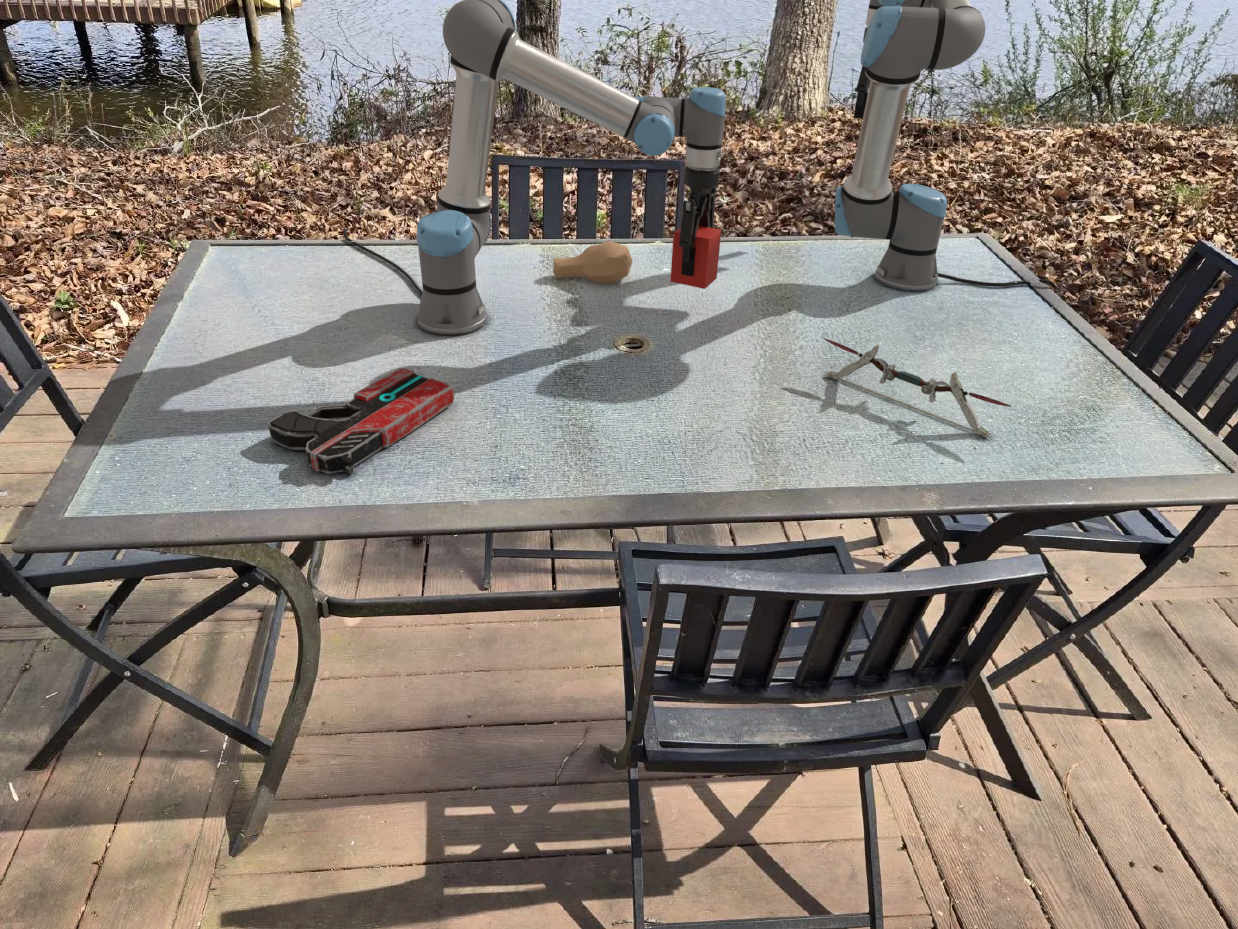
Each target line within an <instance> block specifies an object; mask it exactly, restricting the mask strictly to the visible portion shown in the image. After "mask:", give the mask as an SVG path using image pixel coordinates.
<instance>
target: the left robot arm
mask: <svg viewBox="0 0 1238 929" xmlns="http://www.w3.org/2000/svg"><path fill="white" fill-rule="evenodd" d="M516 26H517V25H516V19H515V16H514V14H513V12H512V10H511V8H510V6H508V4H507V3H506V2H505V1H504V0H461V1H458V2H457V3H456V4H454V5H453V6H452V7H451V8H450V9H449V10H448V11H447V13H446V15H445V17H444V19H443V24H442V37H443V42H444V45H445V47H446V49H447V51H448V52H449V54H450V56H449V58H450V59H449V65H450V66H451V67H452V69H453V70H454V71H455V74H456V76H455V86H454V98H453V108H452V117H451V118H452V120H451V127H450V128H451V130H450V141H449V150H448V151H449V152H448V160H447V161H448V162H447V171H446V172H447V173H446V183H445V186H444V187H443V188H441V189H440V190H438V194H437V205H436V211H432V213H427V214H425V215H424V216H422V217H421V218H420V219H419V221H418V223H417V225H416V244H417V247H418V258H419V267H420V275H421V276H420V277H421V284H422V289H421V287H419V285H417V283H416V281H415V280H414V279H413V278H412V277H411V275H409V274H408V272H406V271H405V270H404V269H403V268H402V267H400V266H399V265H398V264H396V263H395V262H394V261H392V260H389V259H388V258H386V257H385V256H383V255H382V254H379V253H377V252H375V251H373V250H371V249H370V248H367V247H365V246H363V245H361V244H360V243H358V242H356V241H354V240H353V239H351V238H350V237H348V235H347V229H346V228H343V231H342V232H343V233H342V234H343V238H344V239H345V240H346V241H347V242H349V241H354V242H349V243H350V244H352V245H353V246H356V247H358V248H359V249H361V250H363V251H365V252H367V253H368V254H370V255H372V256H375V257H376V258H378V259H380V260H382V261H383V262H385V263H387V264H389V265H391V266H392V267H393V268H395V269H396V270H398V271H399V272H400V273H402V274H403V276H404V277H406V278H407V279H408V281H409V282H410V283H411V284H412V286H413V287H414V288H415V290H416V291H417V293H418V294H420V295H421V297H420V302H419V305H418V310H417V316H416V318H417V325H418V326H419V328H420V329H421V330H423V331H424V332H427V333H430V334H433V335H440V336H459V335H465V334H469V333H473V332H476V331H477V330H480V329H481V328H483V327H484V326H485V325H486V323H487V320H488V316H487V310H486V304H485V303H484V302H483V299H482V298H481V295H480V293H479V291H478V288H477V278H476V277H477V276H476V257H477V256H478V254H479V253H480V251H481V249H482V247H483V246H484V245H485V244H486V242H487V241H488V239H489V237H490V234H491V231H492V230H491V229H492V218H491V214H490V210H491V205H492V204H491V203H492V200H491V198H490V197H489V196H488V194H487V193H486V186H487V178H488V171H489V162H490V155H491V154H490V153H491V146H492V136H493V128H494V120H495V112H496V103H497V94H498V85H499V82H501V81H504V80H506V81H508V82H510V83H512V84H514V85H516V86H519V87H520V88H522V89H524V90H527V91H529V92H531V93H532V94H535V95H537V96H538V97H541V98H543V99H545V100H547V101H549V102H550V103H553V104H555V105H556V106H559V107H561V108H562V109H565V110H567V111H569V112H571V113H574V114H575V115H577V116H579V117H581V118H583V119H585V120H587V121H589V122H592V123H593V124H596V125H598V126H599V127H602V128H604V129H606V130H608V131H610V132H611V133H614V134H616V135H617V136H619V137H621V138H623V139H626V140H627V141H629V142H630V143H631V142H632V143H633V144H635V145H636V147H637V149H639V151H640V152H641V153H643V154H645V155H647V156H649V157H657V156H661V155H663V154H665V153H666V152H667V151H668V150H669V149H670V147H671V146H672V145H673V142H674V140H675V138H676V137H677V138H686V145H685V156H684V164H685V165H686V166H685V167H684V171H683V172H684V173H683V184H684V186H686V187H688V188H689V190H690V191H689V194H688V196H687V197H688V198H687V200H683V201H682V217H681V225H680V227H681V233H680V241H679V246H681V247H683V256H682V270H681V274H683V275H688V276H693V275H694V264H695V252H696V247H694V244H695V240H696V235H697V230H698V225H699V226H705V227H710V228H715V211H716V210H715V207H716V195H717V188H718V186H719V184H720V172H721V170H720V168H719V167H720V165H721V159H722V158H723V157H724V153H722V150H723V148H722V147H723V138H724V130H725V120H726V103H727V101H726V100H727V96H726V93H725V91H723V90H722V89H720V88H717V87H711V86H702V87H700V86H699V87H694V88H692V89H691V90H690V92H689V95H688V97H685V98H684V97H683V98H681V97H679V98H678V97H662V96H651V95H645V96H633V95H631V94H629V93H628V92H625V91H623V90H622V89H619V88H617V87H615V86H613V85H612V84H609V83H607V82H605V81H603V80H601V79H599V78H597V77H595V76H594V75H591V74H590V73H588V72H585V71H583V70H582V69H579V68H577V67H575V66H574V65H572V64H569V63H568V62H565V61H564V60H562V59H559V58H558V57H556V56H553V55H552V54H550V53H548V52H546V51H544V50H542V49H541V48H538V47H536V46H535V45H532V44H529V42H526V41H524V40H523V39H521V37H520V35H519V33H518V31H517V30H516V28H517V27H516Z"/></svg>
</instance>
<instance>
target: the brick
mask: <svg viewBox="0 0 1238 929" xmlns="http://www.w3.org/2000/svg"><path fill="white" fill-rule="evenodd" d="M680 233H681V226H680V227H679V228H677V229H676V230H674V231H673V236H672V250H671V252H672V253H671V264H670V265H671V267H670V281H669V282H671V283H676V284H680V285H684V286H689V287H694V288H698V289H703V290H706V289H707V288H708V287H709V286H710V285H711V284H712V283H714V281H716V280H717V277H718V269H719V259H720V258H719V257H720V247H721V238H722V229H721V228H715V227H714V228H710V227H705V226H699V225H698V230H697V235H696V240H695V244H694V247H696V252H695V264H694V275H693V276H688V275H683V274H681V270H682V256H683V247H681V246H679V241H680Z"/></svg>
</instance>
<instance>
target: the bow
mask: <svg viewBox="0 0 1238 929" xmlns="http://www.w3.org/2000/svg"><path fill="white" fill-rule="evenodd" d="M822 339H823V340H824V341H826V342H828V343H829V344H831V345H833V346H835V347H837V348H839V349H841V350H842V351H843V350H844V351H845V352H848V353H851V354H853V355H857V357H858V358H859V359H858V360H854V361H853V362H851V363H849V364H847V365H845V366H844V367H842V368H841V369H840V370H839V371H832V370H831V371H828V372H826V375H827V377H829V378H831V379H832V380H839V381H842V382H845V383H847V384H849V385H852V386H855V387H857V388H860V389H862V390H865V391H868V392H871V393H873V394H876V395H878V396H881V397H883V398H886V399H888V400H891V401H894V402H896V403H899V404H902V405H904V406H907V407H909V408H912V409H914V410H917V411H920V412H922V413H924V414H927V415H929V416H931V417H935V418H938V419H941V420H943V421H944V422H945V421H946V422H948V423H951V424H953V425H956V426H958V427H961V428H963V429H966V430H968V431H971V432H973V433H974V434H977V435H978V436H979V437H983V438H989V437H990V436H992V433H991V432H989V430H987V429H985V428H984V427H983V426H982V425H980V421H979V419H978V418H979V417H978V416H977V414H976V412H975V410H974V408H973V407H972V405H971V404H970V403H969V401H968V400H967V397H966V396H968V395H969V397H972V398H975V399H977V400H980V401H983V402H986V403H990V404H994V405H997V406H1003V407H1009V408H1011V407H1012V405H1011V404H1007V403H1005V402H1003V401H1000V400H998V399H995V398H991V397H988V396H985V395H981V394H979V393H975V392H968V391H966V390H964V388H963V384H962V383H961V381H960V380H959V378H958V374H957V371H953V372H952V373H951V376H950V380H949V383H948V382H946V381H944V380H940V381H939V380H938V381H937V380H936V379H934V378H933V377H932V378H930V379H929V380H928V381H926V380H924V379H923V378H922V377H921V376H918V375H916V374H913V373H910V372H907V371H904V370H896V368H897V367H896V366H897V365H896V364H895V363H893V364H888V362H887V361H886V360H884V359H883V358H879V357H876V356H877V355H878V352H879V349H880V344H876V345H874V347H872V348H871V350H868V351H866V352H865V353H864V354H863V353H861V352H858V351H857V350H855V349H853V348H850V347H848V346H846V345H843V344H842V343H839V342H837V341H833V340H831V339H828V338H826V337H825V338H824V337H823V338H822ZM875 357H876V358H875ZM870 364H872V365H873V366H875V368H877V370H879V371H880V372H882V375H881V377H880V380H879V382H878V383H879V384H881V385H884V384H885V383H887V381H889V382H893V381H894V380H895V379H898V380H900V381H902V382H906V383H908V384H910V385H914V386H916V387H921V389H920V391H921V393H922V394H924V395H928V403H932V404H934V402H936V397H937V394H936V393H937V392H938V393H945V392H949V393H951V395H952V396H953V397H954V399H955V401H956V402H957V404H958V405H959V408H960V410H961V413H962V414H963V416H964V417H965V419H966V422H967V424H968V425H969V427H970V428H969V427H966V426H963V425H961V424H958V423H957V422H956V423H955V422H953V421H952V420H951V421H950V420H948V419H946V418H943V417H940V416H937V415H935V414H933V413H929V412H928V411H925V410H922V409H919V408H917V407H914V406H912V405H909V404H906V403H904V402H901V401H899V400H896V399H893V398H891V397H888V396H886V395H883V394H881V393H879V392H876V391H873V390H870V389H868V388H865V387H862V386H860V385H857V384H855V383H852V382H850V381H847V380H844V379H843V378H845V377H849V376H850V375H851V374H853V373H854V372H856V371H857V370H859V369H861V368H864V367H865V366H867V365H870Z"/></svg>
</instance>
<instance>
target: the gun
mask: <svg viewBox="0 0 1238 929" xmlns="http://www.w3.org/2000/svg"><path fill="white" fill-rule="evenodd" d="M455 394H456V393H455V391H454V388H453V386H452V385H451V384H449V383H448V382H447V381H441V380H438V379H436V378H432V377H431V378H429V377H426V376H423V375H421V374H418V373H416V372H415V371H414V370H413V369H410V368H407V367H399V368H397V369H395V370H393V371H392V372H390V373H388V374H386V375H384V376H383V377H381V378H379V379H378V380H376V381H374V382H372V383H371V384H369V385H367V386H365V387H363V388H361V389H360V390H358V391H356V392H355V393H353V398H352V399H350V400H349V401H347V402H346V404H340V405H339V404H338V405H324V406H323V405H321V406H319V407H317V408H315V409H313V410H312V411H310V412H308V413H306V414H305V413H302V412H300V411H298V410H297V409H295V408H292V409H290V410H288V411H286V412H284V413H283V414H280V415H278V416H276V417H274V418H273V419H270V420H268V421H267V422H266V423H267V426H268V431H269V436H270V439H271V440H272V441H273V442H274V443H275V444H278V445H279V446H281V447H283V448H285V449H288V450H297V451H305V453H306V458H307V463H308V466H309V467H311V468H312V469H313V471H314V472H317V473H319V472H322V473H324V474H326V475H331V474H337V473H340V472H341V473H342V472H343V473H346V474H348V475H352V474H354V473H355V472H354V467H356V466H357V465H359V464H360V463H362V462H364V461H365V460H367V459H368V458H369V457H372V455H374V454H376V453H377V452H379V451H381V450H382V449H384V448H385V449H386V448H389V447H390V446H392V445H393V444H395V443H396V442H398V441H399V440H401V439H402V438H404V437H406V436H407V435H409V434H411V433H412V432H414V431H415V430H416V429H418V428H420V427H421V426H423V425H424V424H425V423H426V422H428V421H429V420H431V419H432V418H434V417H436V416H437V415H438V414H440V413H441V412H443V411H444V410H445V409H447V408H448V407H450V406H451V405H453V404H454V401H455Z"/></svg>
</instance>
